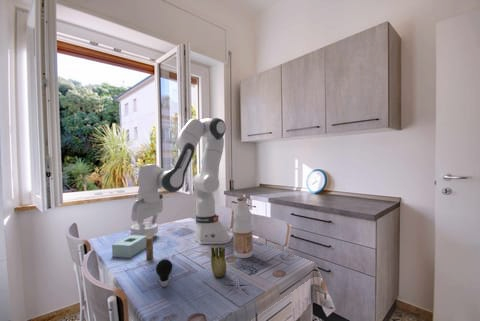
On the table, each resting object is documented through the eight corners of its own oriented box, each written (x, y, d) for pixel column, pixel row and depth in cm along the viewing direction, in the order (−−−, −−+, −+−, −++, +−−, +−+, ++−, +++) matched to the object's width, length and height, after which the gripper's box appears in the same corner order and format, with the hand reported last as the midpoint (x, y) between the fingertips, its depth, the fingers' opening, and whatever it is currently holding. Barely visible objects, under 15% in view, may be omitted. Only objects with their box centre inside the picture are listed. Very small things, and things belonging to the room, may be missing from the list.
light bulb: (158, 282, 86) (158, 257, 86) (174, 281, 87) (173, 256, 87) (154, 291, 81) (153, 264, 81) (170, 290, 81) (170, 263, 81)
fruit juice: (233, 259, 106) (232, 199, 105) (233, 251, 115) (232, 196, 115) (253, 258, 106) (252, 199, 106) (251, 250, 115) (250, 196, 115)
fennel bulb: (210, 275, 91) (209, 246, 91) (218, 271, 95) (218, 242, 95) (220, 280, 87) (219, 249, 87) (228, 275, 91) (228, 245, 91)
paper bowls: (162, 234, 143) (162, 222, 143) (148, 243, 128) (148, 229, 128) (140, 233, 146) (140, 221, 146) (124, 242, 131) (124, 228, 131)
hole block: (147, 246, 123) (147, 235, 123) (130, 257, 109) (129, 245, 109) (131, 245, 125) (131, 235, 125) (112, 256, 111) (112, 244, 111)
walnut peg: (154, 257, 110) (153, 236, 109) (150, 260, 107) (150, 239, 106) (148, 256, 110) (148, 236, 110) (145, 259, 107) (144, 238, 107)
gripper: (140, 201, 97) (140, 233, 97) (165, 194, 117) (165, 221, 117) (127, 201, 98) (127, 232, 98) (154, 194, 118) (154, 220, 118)
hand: (148, 226), depth 108 cm, fingers open, 8 cm apart
